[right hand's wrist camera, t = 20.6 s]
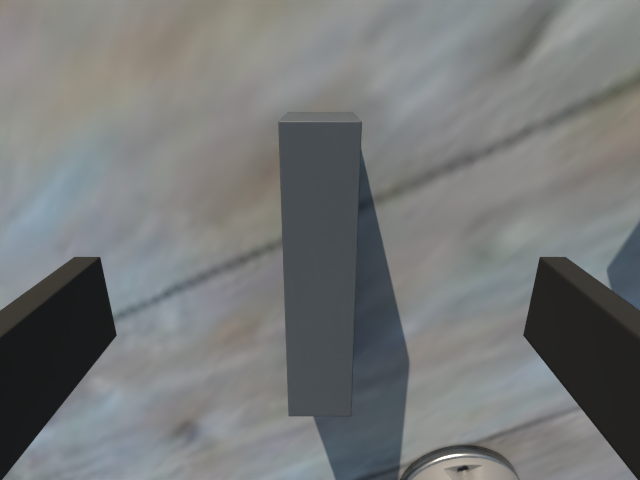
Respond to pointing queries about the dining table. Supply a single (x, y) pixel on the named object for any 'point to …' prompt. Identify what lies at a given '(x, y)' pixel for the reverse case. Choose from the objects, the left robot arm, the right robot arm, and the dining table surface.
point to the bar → (320, 257)
